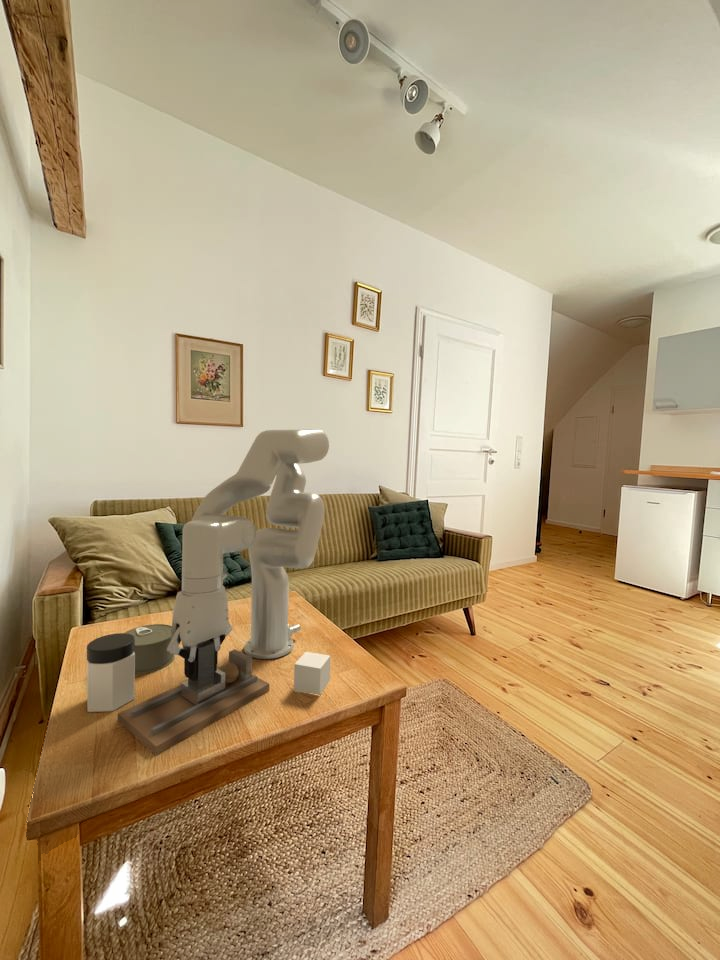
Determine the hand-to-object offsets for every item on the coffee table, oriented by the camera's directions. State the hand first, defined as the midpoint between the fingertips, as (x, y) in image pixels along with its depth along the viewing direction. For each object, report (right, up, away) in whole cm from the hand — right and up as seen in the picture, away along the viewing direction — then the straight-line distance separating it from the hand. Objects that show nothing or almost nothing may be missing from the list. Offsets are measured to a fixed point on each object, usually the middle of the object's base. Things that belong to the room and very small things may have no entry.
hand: (201, 673), depth 78 cm
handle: (0, -4, +1) cm, 4 cm away
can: (-19, -6, +16) cm, 26 cm away
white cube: (+21, -7, +8) cm, 24 cm away
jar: (-18, -6, +1) cm, 19 cm away
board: (0, -6, 0) cm, 6 cm away
